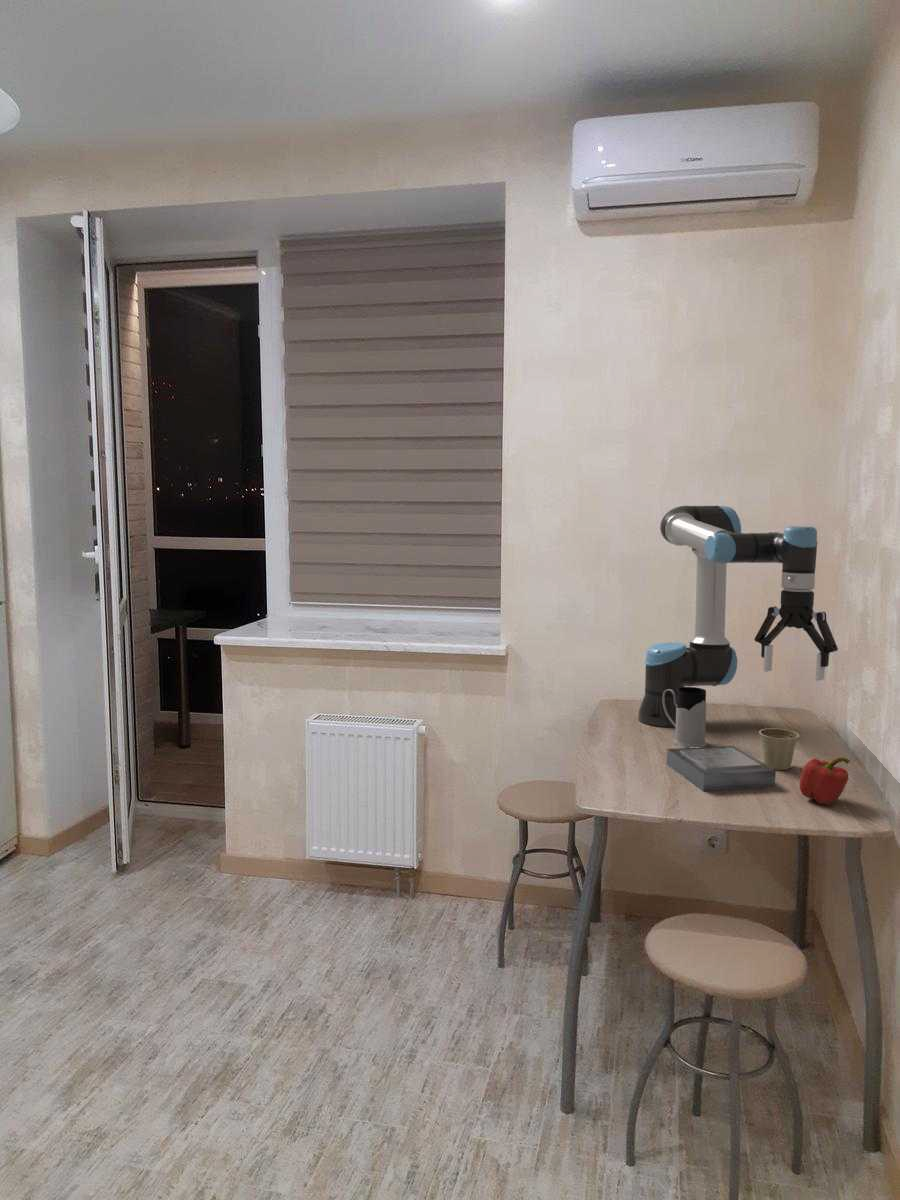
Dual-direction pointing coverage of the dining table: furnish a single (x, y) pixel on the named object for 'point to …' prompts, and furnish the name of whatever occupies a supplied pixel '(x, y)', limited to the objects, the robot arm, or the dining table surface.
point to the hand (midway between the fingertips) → (793, 675)
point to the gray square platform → (720, 768)
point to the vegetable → (823, 780)
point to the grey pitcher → (689, 716)
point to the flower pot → (778, 747)
